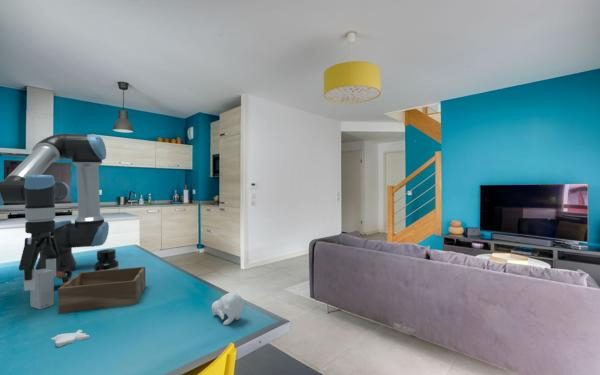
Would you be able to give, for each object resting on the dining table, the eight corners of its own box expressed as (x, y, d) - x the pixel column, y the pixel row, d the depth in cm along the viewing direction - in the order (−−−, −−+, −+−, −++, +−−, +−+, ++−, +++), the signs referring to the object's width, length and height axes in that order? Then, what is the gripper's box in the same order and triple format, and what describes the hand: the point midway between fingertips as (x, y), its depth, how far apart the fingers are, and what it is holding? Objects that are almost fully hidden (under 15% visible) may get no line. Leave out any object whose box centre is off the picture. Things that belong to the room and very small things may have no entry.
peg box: (80, 293, 110) (80, 272, 110) (145, 286, 117) (145, 266, 117) (58, 313, 93) (57, 288, 93) (135, 304, 100) (135, 281, 100)
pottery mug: (59, 294, 111) (44, 276, 109) (41, 303, 113) (26, 286, 111) (83, 276, 123) (70, 260, 121) (66, 284, 124) (54, 269, 123)
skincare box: (54, 305, 100) (53, 270, 100) (39, 310, 96) (38, 273, 96) (45, 301, 102) (44, 268, 102) (29, 306, 99) (29, 271, 98)
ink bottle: (103, 282, 122) (103, 254, 121) (88, 280, 125) (87, 252, 124) (124, 275, 131) (123, 249, 131) (109, 273, 134) (109, 247, 134)
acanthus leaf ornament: (89, 340, 79) (89, 333, 79) (57, 352, 73) (57, 344, 73) (81, 331, 83) (81, 324, 83) (50, 341, 78) (50, 334, 78)
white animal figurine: (228, 298, 83) (204, 292, 91) (230, 328, 83) (206, 320, 91) (245, 291, 88) (221, 286, 96) (247, 320, 88) (223, 312, 96)
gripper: (45, 217, 109) (46, 273, 109) (2, 225, 86) (3, 297, 86) (69, 216, 112) (70, 271, 112) (34, 224, 88) (35, 294, 88)
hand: (41, 283), depth 99 cm, fingers open, 13 cm apart
